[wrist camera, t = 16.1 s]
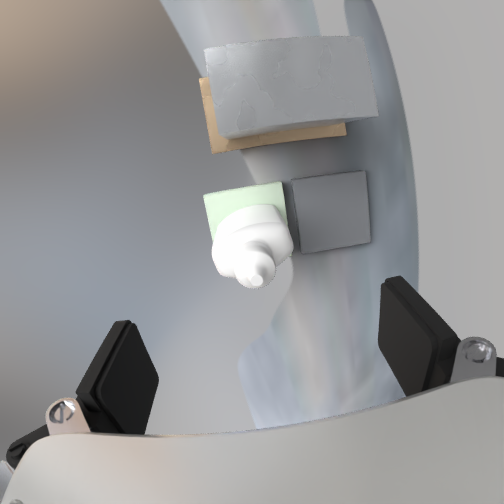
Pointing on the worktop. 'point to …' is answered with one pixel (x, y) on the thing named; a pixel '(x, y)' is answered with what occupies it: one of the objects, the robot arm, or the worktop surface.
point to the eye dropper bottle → (252, 245)
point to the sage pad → (243, 202)
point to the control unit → (285, 90)
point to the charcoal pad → (331, 211)
